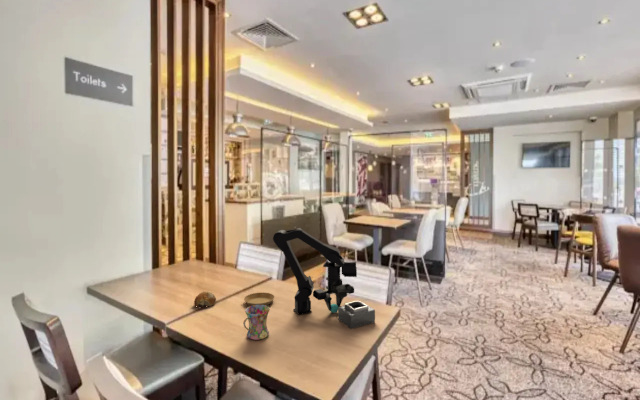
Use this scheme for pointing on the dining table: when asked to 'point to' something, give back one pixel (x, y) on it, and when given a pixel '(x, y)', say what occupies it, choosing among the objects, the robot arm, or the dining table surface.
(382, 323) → the dining table surface
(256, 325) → the mug
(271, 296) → the plant saucer
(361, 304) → the open metal box
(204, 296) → the brown rounded dome
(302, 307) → the robot arm
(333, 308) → the bead
